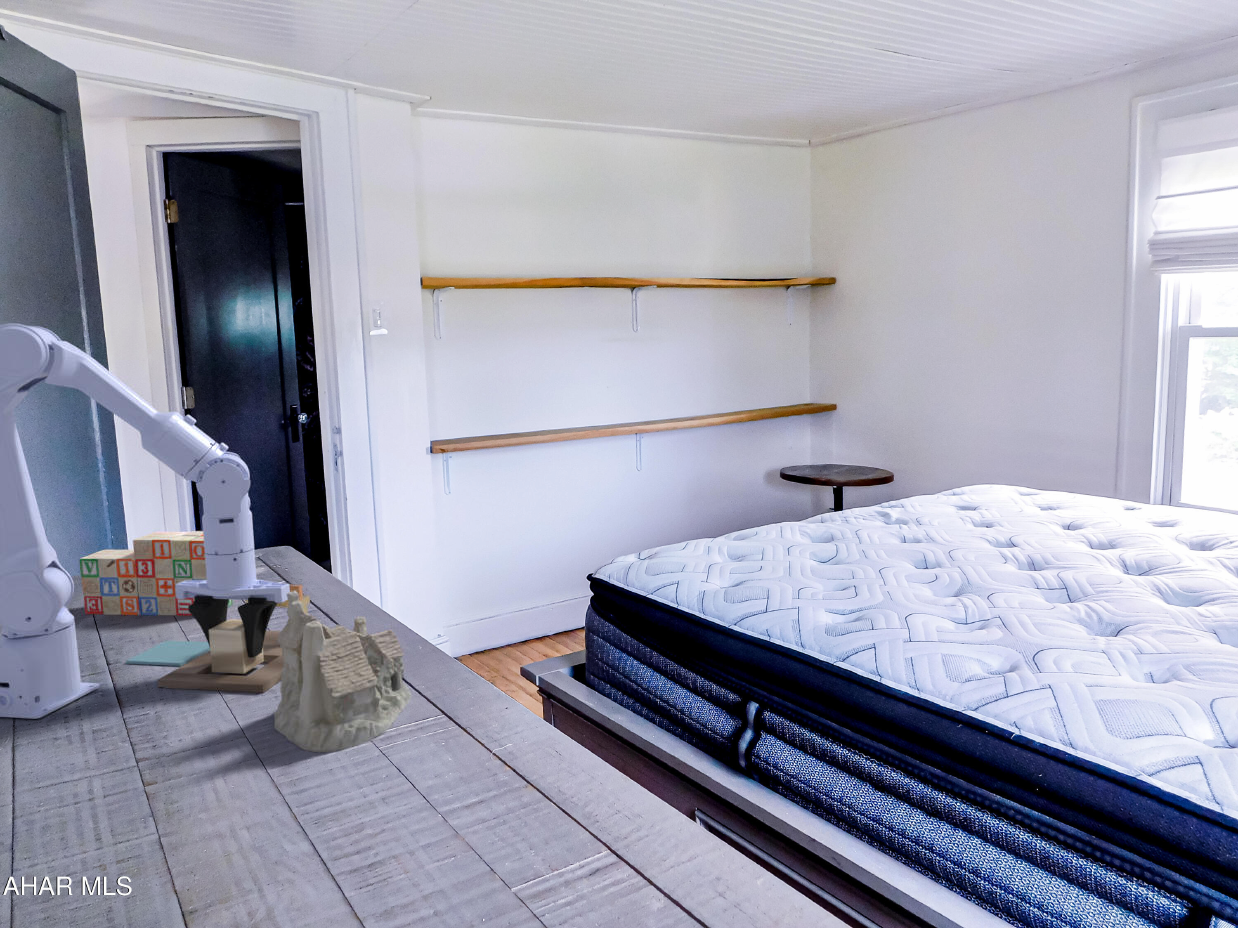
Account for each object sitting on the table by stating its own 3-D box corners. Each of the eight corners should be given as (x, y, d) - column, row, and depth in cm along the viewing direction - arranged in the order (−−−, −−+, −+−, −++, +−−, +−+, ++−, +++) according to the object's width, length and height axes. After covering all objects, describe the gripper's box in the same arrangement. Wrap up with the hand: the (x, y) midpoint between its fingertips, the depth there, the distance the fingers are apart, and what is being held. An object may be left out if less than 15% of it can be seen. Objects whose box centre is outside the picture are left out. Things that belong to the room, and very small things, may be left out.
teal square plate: (180, 666, 113) (180, 663, 113) (126, 663, 115) (126, 660, 115) (218, 645, 121) (218, 642, 121) (166, 643, 123) (166, 640, 122)
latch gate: (302, 641, 118) (299, 586, 117) (247, 638, 120) (243, 584, 119) (312, 635, 121) (308, 581, 120) (258, 632, 122) (254, 579, 121)
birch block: (244, 673, 108) (240, 631, 108) (212, 671, 109) (208, 629, 108) (263, 661, 113) (260, 620, 112) (232, 659, 113) (229, 618, 113)
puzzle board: (263, 692, 104) (262, 684, 104) (158, 687, 106) (157, 679, 106) (338, 640, 123) (338, 633, 122) (248, 636, 125) (247, 629, 125)
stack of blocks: (83, 615, 137) (75, 539, 135) (109, 604, 143) (102, 530, 141) (214, 616, 135) (207, 539, 134) (234, 604, 141) (228, 530, 140)
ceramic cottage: (299, 760, 86) (297, 612, 85) (259, 712, 100) (258, 583, 99) (445, 729, 95) (445, 594, 94) (390, 689, 109) (390, 570, 108)
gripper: (299, 544, 112) (306, 645, 113) (197, 541, 114) (205, 641, 116) (269, 557, 105) (276, 665, 107) (161, 554, 107) (170, 659, 109)
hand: (237, 654), depth 111 cm, fingers closed on birch block, 4 cm apart
